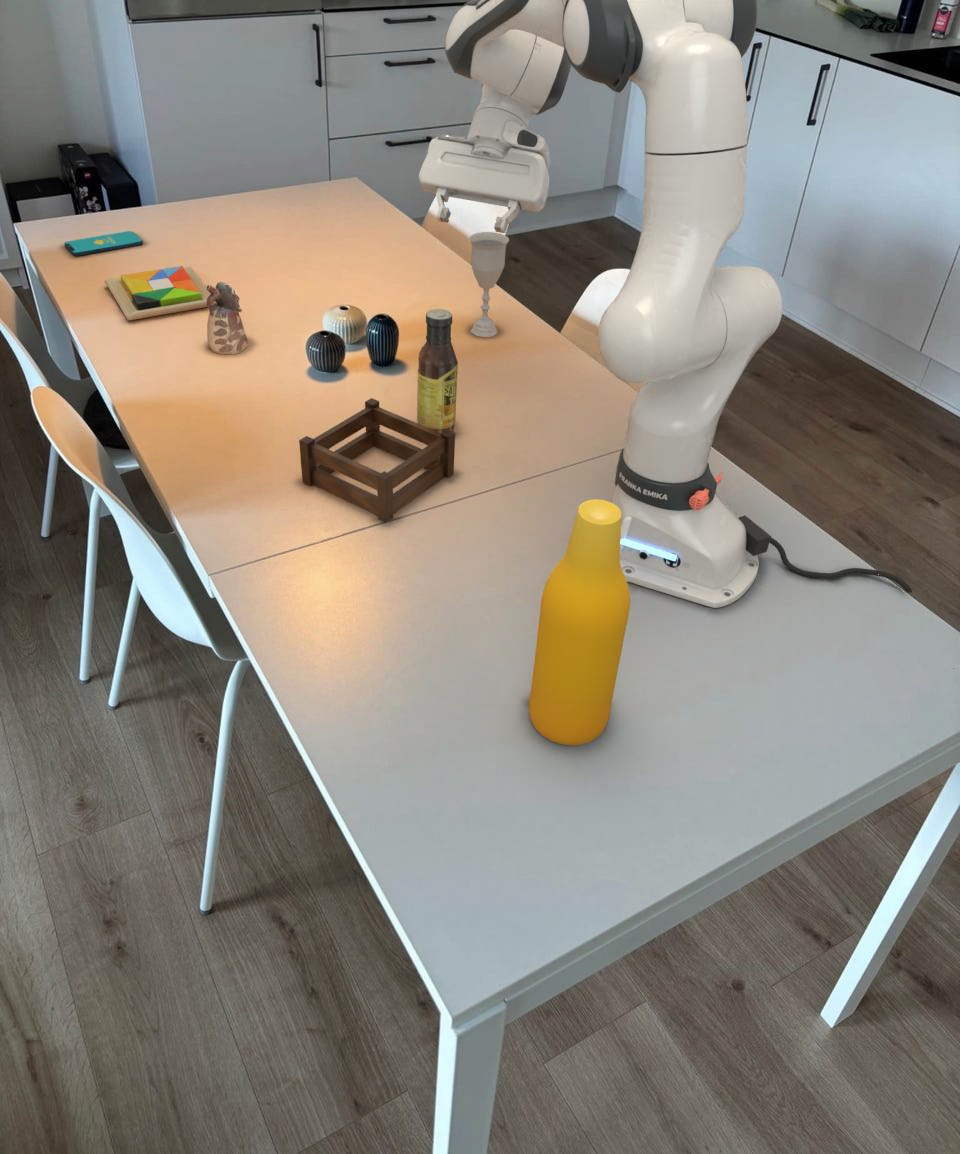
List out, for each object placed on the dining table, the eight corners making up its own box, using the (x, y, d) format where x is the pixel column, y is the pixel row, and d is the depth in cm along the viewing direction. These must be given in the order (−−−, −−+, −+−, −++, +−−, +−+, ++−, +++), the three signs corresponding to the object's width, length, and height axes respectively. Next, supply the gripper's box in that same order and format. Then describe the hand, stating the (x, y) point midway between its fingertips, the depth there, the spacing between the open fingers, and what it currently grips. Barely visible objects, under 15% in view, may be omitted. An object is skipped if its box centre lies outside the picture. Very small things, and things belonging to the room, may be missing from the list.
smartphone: (143, 240, 213) (74, 252, 205) (144, 244, 213) (74, 256, 206) (131, 230, 217) (63, 241, 210) (132, 233, 218) (63, 245, 210)
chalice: (496, 321, 192) (501, 230, 180) (507, 337, 187) (514, 244, 175) (460, 325, 190) (464, 233, 178) (471, 340, 185) (475, 247, 173)
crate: (453, 474, 149) (455, 432, 145) (386, 523, 139) (385, 479, 134) (372, 438, 156) (371, 397, 151) (302, 482, 146) (298, 440, 141)
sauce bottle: (450, 442, 156) (454, 326, 144) (412, 436, 157) (413, 321, 145) (459, 422, 161) (463, 308, 149) (422, 416, 162) (423, 303, 150)
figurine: (253, 351, 177) (246, 287, 170) (214, 357, 175) (205, 293, 167) (242, 334, 182) (235, 272, 174) (204, 340, 180) (195, 277, 172)
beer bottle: (529, 747, 108) (554, 539, 90) (526, 686, 115) (548, 482, 97) (612, 749, 108) (654, 542, 90) (603, 689, 115) (641, 486, 97)
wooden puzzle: (130, 324, 183) (126, 307, 181) (104, 287, 195) (101, 270, 193) (220, 308, 190) (218, 291, 188) (190, 273, 203) (187, 256, 200)
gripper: (428, 120, 150) (402, 204, 149) (554, 140, 145) (529, 227, 144) (438, 143, 156) (413, 224, 155) (560, 163, 151) (535, 246, 150)
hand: (470, 225), depth 150 cm, fingers open, 8 cm apart
